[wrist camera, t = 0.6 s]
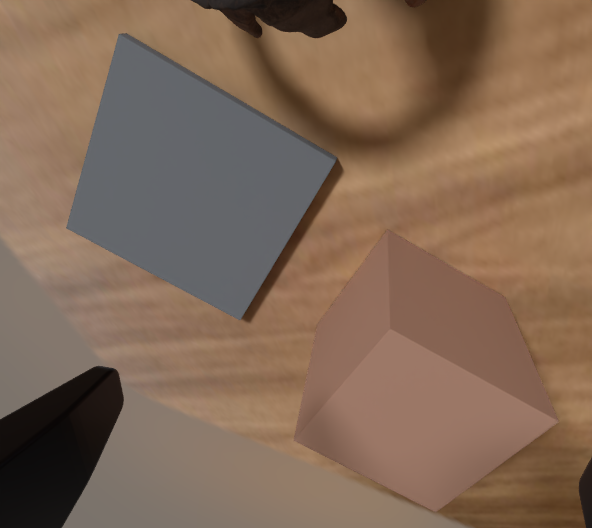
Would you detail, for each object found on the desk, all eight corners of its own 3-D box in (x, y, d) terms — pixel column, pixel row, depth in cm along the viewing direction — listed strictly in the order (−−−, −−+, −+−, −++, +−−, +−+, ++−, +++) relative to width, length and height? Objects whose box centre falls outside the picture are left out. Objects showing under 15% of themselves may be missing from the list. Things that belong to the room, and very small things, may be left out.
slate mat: (336, 157, 19) (335, 161, 19) (243, 313, 24) (239, 320, 24) (126, 33, 18) (119, 33, 18) (73, 223, 23) (66, 227, 23)
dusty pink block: (505, 297, 21) (559, 421, 15) (421, 381, 25) (435, 512, 18) (387, 229, 21) (389, 328, 14) (317, 324, 24) (293, 440, 18)
